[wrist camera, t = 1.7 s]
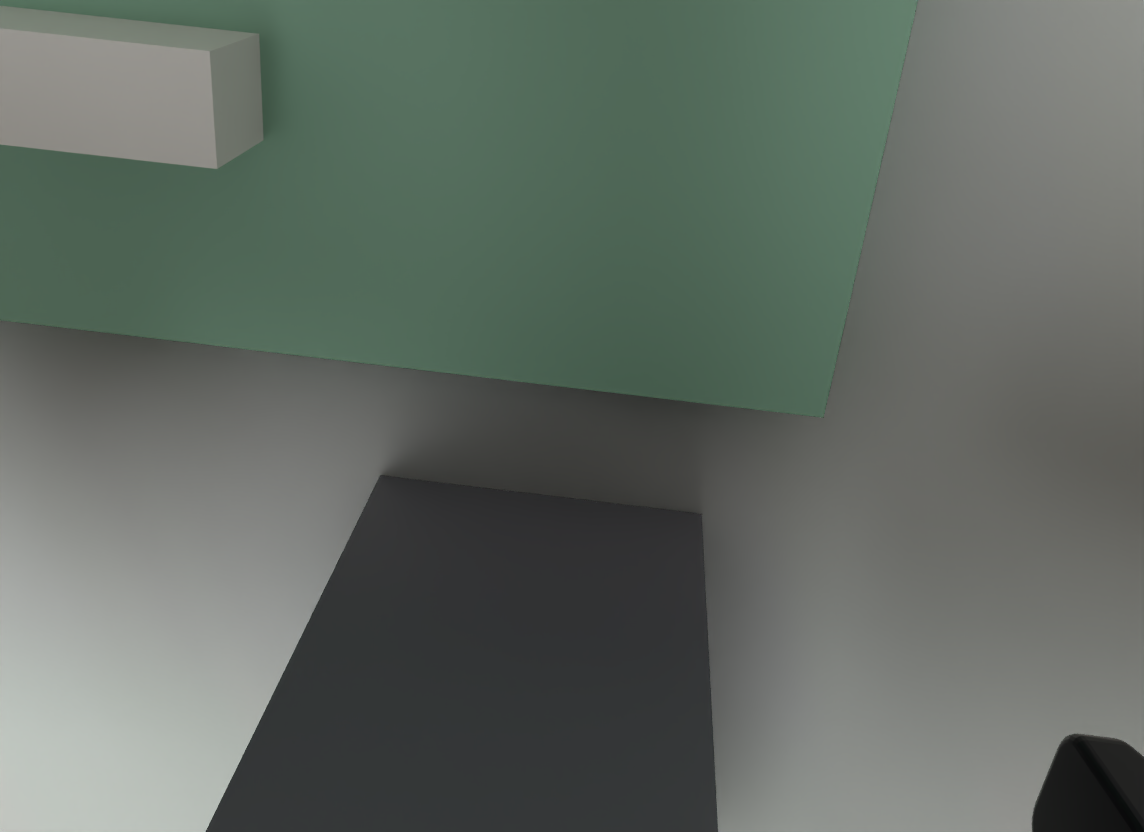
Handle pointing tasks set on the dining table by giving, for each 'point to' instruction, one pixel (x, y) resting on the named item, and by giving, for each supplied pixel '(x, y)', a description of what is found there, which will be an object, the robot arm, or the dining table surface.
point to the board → (455, 182)
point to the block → (493, 675)
